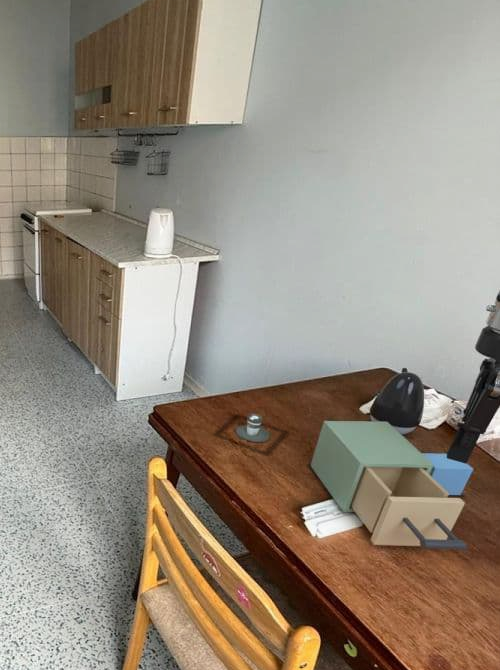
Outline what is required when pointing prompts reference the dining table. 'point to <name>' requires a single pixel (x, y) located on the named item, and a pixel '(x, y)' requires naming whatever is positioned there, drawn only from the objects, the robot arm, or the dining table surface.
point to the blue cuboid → (449, 472)
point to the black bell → (400, 402)
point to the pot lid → (253, 429)
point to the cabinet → (360, 455)
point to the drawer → (406, 508)
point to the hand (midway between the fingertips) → (456, 458)
